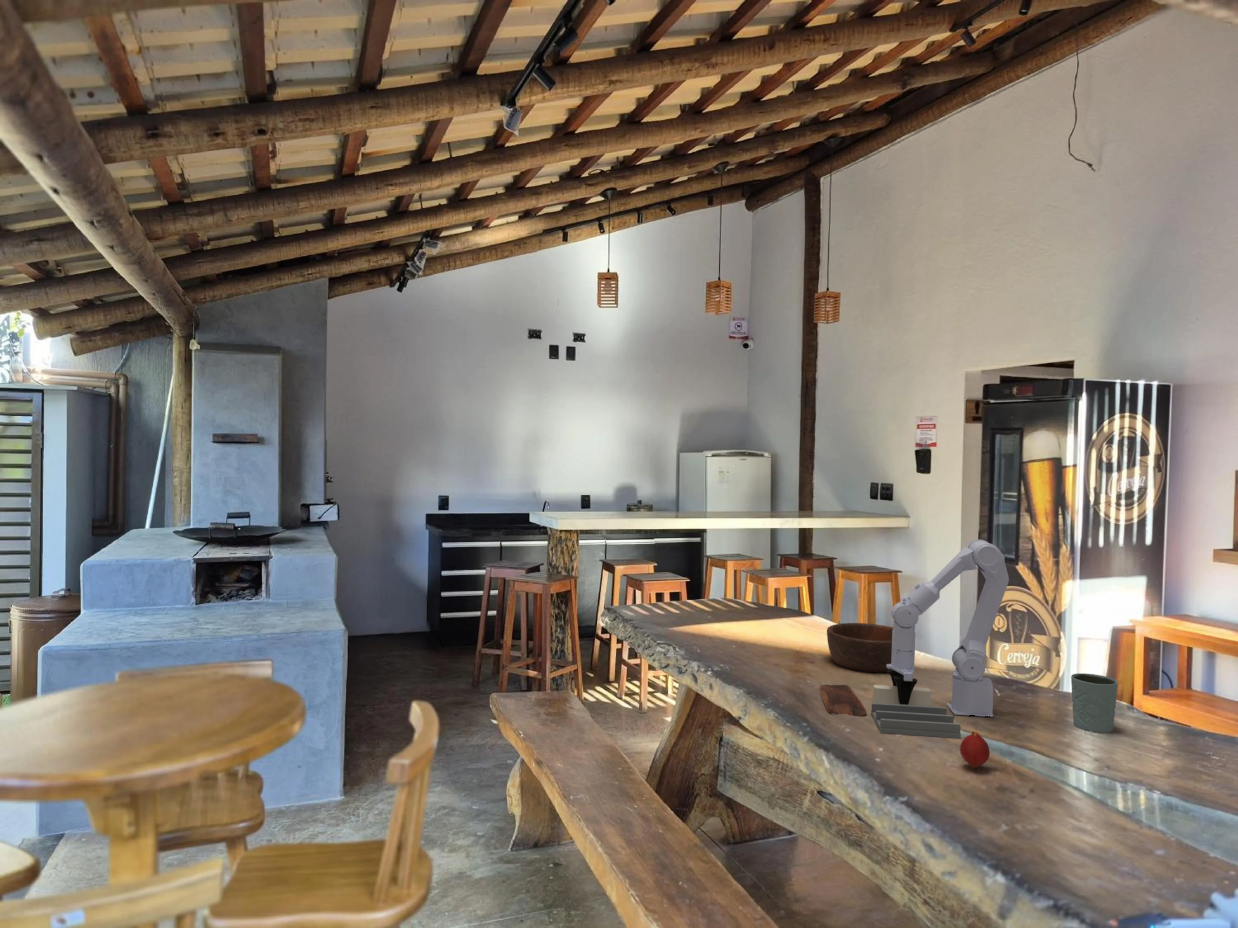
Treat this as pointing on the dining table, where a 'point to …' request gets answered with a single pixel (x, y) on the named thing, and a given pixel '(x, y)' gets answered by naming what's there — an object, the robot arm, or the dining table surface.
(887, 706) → the grooved grey tray
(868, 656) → the wooden bowl
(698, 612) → the dining table surface
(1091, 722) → the dark green cup
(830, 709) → the wooden tablet
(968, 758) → the onion
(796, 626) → the dining table surface
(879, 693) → the clay bar
